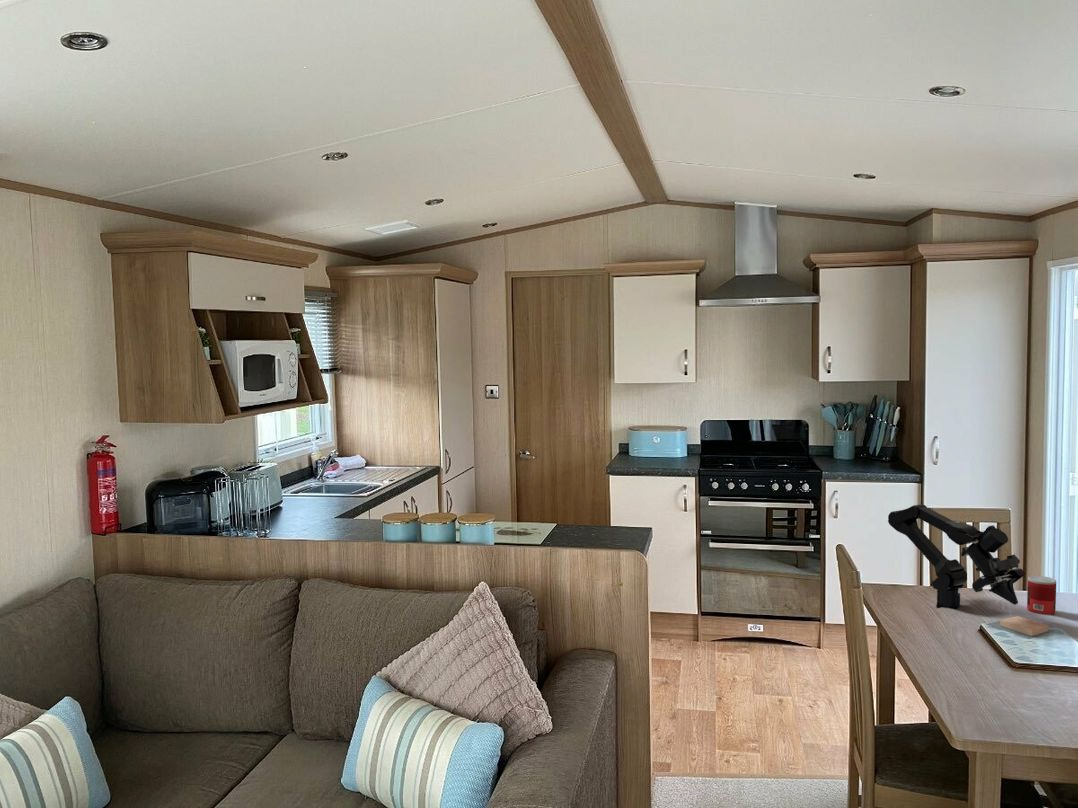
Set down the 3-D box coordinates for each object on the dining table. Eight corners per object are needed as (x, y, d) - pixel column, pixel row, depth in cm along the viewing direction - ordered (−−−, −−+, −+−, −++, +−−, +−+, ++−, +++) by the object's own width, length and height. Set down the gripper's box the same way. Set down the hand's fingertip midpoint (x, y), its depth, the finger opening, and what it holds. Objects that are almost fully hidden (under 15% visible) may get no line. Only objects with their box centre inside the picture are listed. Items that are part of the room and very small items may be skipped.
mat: (985, 625, 262) (985, 624, 262) (1010, 619, 267) (1010, 617, 267) (1028, 640, 249) (1028, 638, 249) (1053, 633, 254) (1054, 631, 254)
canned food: (1060, 615, 269) (1061, 582, 268) (1035, 616, 269) (1036, 582, 268) (1046, 608, 277) (1047, 575, 276) (1022, 608, 277) (1023, 575, 276)
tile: (1000, 620, 259) (1031, 630, 250) (1016, 616, 263) (1048, 625, 254) (1000, 626, 259) (1031, 636, 250) (1016, 622, 263) (1048, 632, 254)
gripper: (981, 550, 258) (1015, 595, 249) (1020, 542, 266) (1054, 585, 257) (958, 569, 265) (989, 613, 256) (996, 561, 274) (1028, 604, 265)
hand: (1016, 603), depth 258 cm, fingers closed
